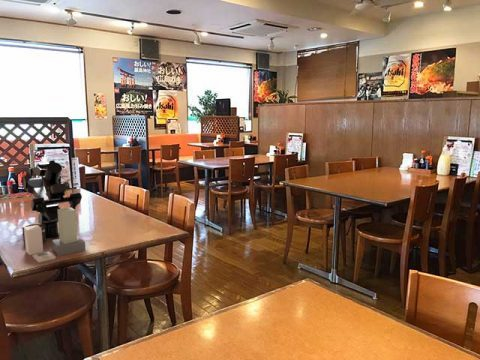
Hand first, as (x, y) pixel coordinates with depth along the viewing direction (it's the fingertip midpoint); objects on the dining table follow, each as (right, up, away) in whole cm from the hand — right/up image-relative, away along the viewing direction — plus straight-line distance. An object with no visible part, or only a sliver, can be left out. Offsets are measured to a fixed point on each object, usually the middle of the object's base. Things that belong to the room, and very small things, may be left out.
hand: (62, 218), depth 155 cm
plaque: (-2, -14, -10) cm, 17 cm away
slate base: (+3, -13, -1) cm, 13 cm away
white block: (-9, -13, -4) cm, 16 cm away
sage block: (+3, -9, -2) cm, 10 cm away
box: (-15, -11, +7) cm, 20 cm away
